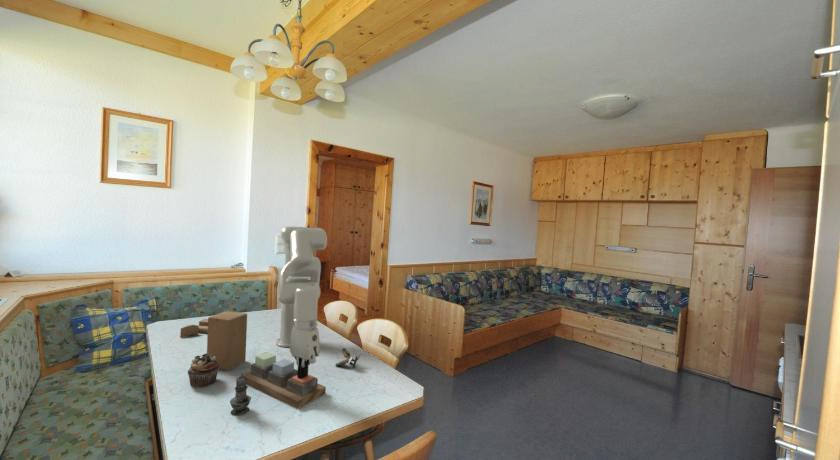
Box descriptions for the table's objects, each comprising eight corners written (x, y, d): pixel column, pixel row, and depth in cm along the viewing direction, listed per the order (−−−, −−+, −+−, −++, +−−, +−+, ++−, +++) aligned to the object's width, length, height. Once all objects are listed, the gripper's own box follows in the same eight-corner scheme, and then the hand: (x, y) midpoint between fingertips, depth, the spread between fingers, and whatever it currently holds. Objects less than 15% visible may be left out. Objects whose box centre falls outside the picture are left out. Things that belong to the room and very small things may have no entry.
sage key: (267, 362, 132) (267, 352, 132) (275, 365, 129) (276, 355, 129) (254, 366, 128) (255, 356, 128) (263, 370, 125) (264, 359, 125)
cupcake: (225, 378, 128) (226, 352, 127) (202, 391, 118) (203, 362, 118) (204, 374, 130) (205, 348, 130) (180, 386, 121) (181, 357, 121)
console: (270, 370, 136) (271, 355, 136) (325, 393, 121) (326, 376, 121) (241, 381, 126) (241, 365, 126) (297, 409, 111) (298, 390, 111)
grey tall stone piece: (234, 405, 111) (236, 368, 110) (253, 406, 111) (255, 369, 111) (225, 416, 105) (227, 377, 104) (246, 416, 105) (247, 377, 105)
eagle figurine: (361, 360, 148) (343, 353, 151) (360, 350, 144) (341, 343, 147) (352, 375, 143) (333, 367, 145) (350, 365, 138) (331, 357, 141)
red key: (302, 383, 122) (303, 372, 122) (312, 387, 119) (313, 376, 119) (291, 389, 118) (291, 377, 117) (301, 393, 115) (301, 381, 115)
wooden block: (227, 371, 134) (229, 319, 133) (205, 367, 136) (207, 317, 135) (245, 361, 143) (247, 313, 143) (224, 357, 145) (226, 310, 145)
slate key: (284, 369, 127) (284, 358, 127) (293, 373, 124) (294, 362, 124) (272, 374, 123) (272, 363, 122) (281, 378, 120) (282, 367, 120)
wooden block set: (203, 316, 182) (236, 319, 180) (203, 327, 182) (235, 330, 181) (178, 326, 165) (214, 329, 164) (178, 338, 165) (214, 341, 164)
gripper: (329, 325, 117) (326, 378, 118) (299, 316, 125) (296, 367, 125) (312, 331, 111) (309, 387, 111) (281, 321, 118) (278, 374, 119)
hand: (302, 376), depth 118 cm, fingers closed
